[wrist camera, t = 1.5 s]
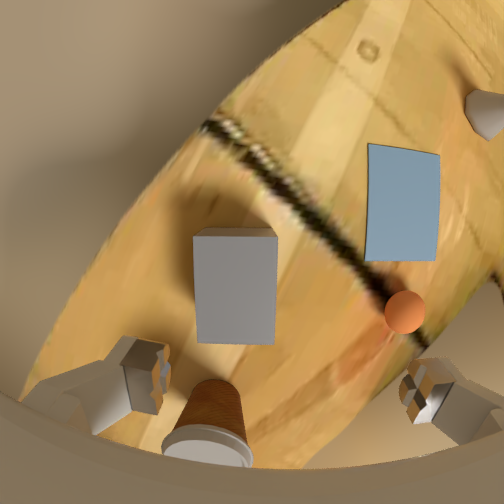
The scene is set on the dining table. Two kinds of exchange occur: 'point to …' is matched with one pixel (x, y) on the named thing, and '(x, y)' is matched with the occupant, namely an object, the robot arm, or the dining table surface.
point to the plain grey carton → (235, 285)
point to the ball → (404, 312)
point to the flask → (485, 112)
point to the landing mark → (402, 204)
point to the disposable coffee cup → (211, 428)
